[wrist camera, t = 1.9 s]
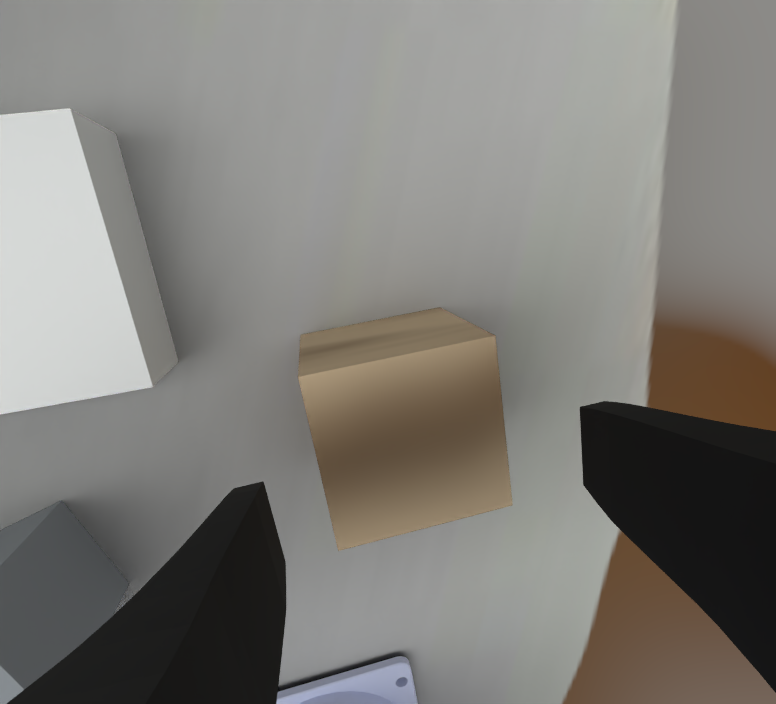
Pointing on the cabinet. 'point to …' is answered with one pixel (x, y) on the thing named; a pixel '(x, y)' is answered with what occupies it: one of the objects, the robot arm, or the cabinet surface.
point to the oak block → (405, 423)
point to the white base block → (73, 267)
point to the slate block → (50, 594)
